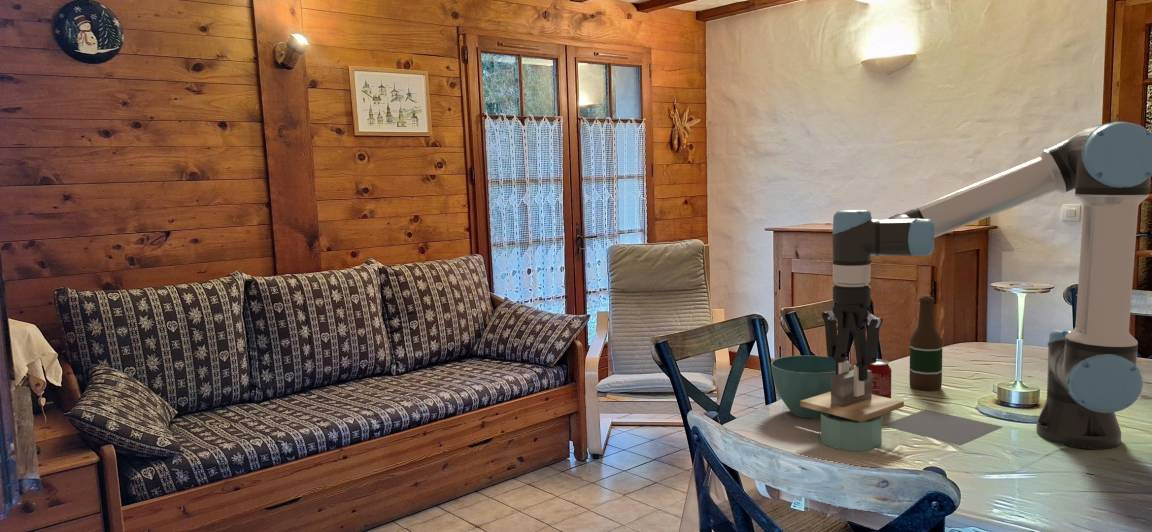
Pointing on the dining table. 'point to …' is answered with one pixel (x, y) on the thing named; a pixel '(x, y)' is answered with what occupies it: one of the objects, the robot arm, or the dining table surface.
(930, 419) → the mat
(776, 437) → the dining table surface
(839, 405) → the lid
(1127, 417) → the dining table surface
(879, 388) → the soda can
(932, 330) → the beer bottle
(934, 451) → the dining table surface
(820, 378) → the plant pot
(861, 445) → the bowl
